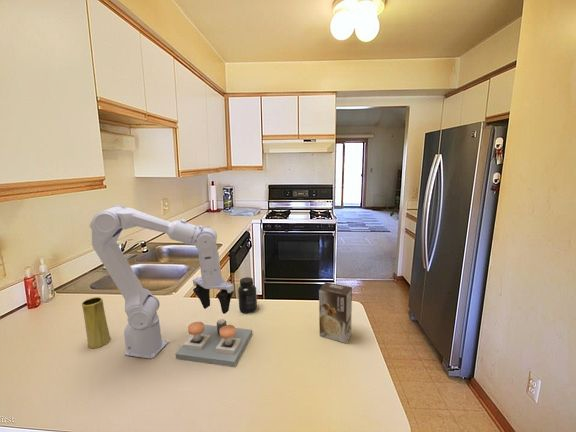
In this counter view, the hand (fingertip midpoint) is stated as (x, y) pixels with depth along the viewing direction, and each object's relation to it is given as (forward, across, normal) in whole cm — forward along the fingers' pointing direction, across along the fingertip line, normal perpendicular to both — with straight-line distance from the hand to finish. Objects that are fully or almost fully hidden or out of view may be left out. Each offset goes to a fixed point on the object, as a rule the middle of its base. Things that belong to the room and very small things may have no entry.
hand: (216, 309), depth 88 cm
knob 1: (+7, +3, +6) cm, 10 cm away
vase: (+9, +34, +18) cm, 39 cm away
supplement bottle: (+11, +3, -19) cm, 22 cm away
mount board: (+11, -1, +3) cm, 11 cm away
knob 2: (+8, -6, +3) cm, 10 cm away
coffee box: (+13, -31, -19) cm, 39 cm away
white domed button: (+9, 0, -2) cm, 9 cm away
